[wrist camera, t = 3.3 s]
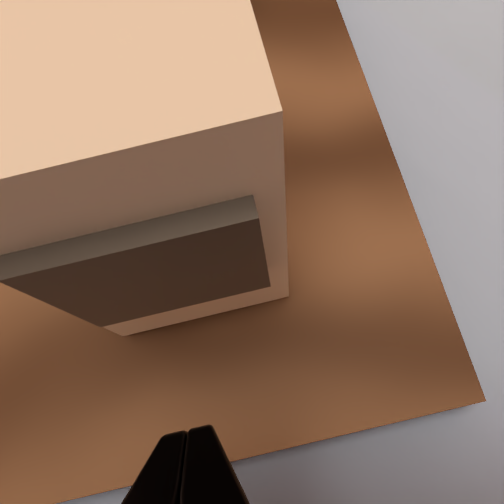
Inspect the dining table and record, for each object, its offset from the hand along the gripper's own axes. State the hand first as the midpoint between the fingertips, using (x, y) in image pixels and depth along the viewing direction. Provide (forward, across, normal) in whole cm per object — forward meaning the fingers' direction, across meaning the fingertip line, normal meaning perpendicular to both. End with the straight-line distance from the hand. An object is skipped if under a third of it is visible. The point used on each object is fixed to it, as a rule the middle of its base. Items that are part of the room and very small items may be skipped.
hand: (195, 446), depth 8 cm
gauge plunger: (+7, +2, 0) cm, 8 cm away
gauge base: (+11, 0, -1) cm, 11 cm away
